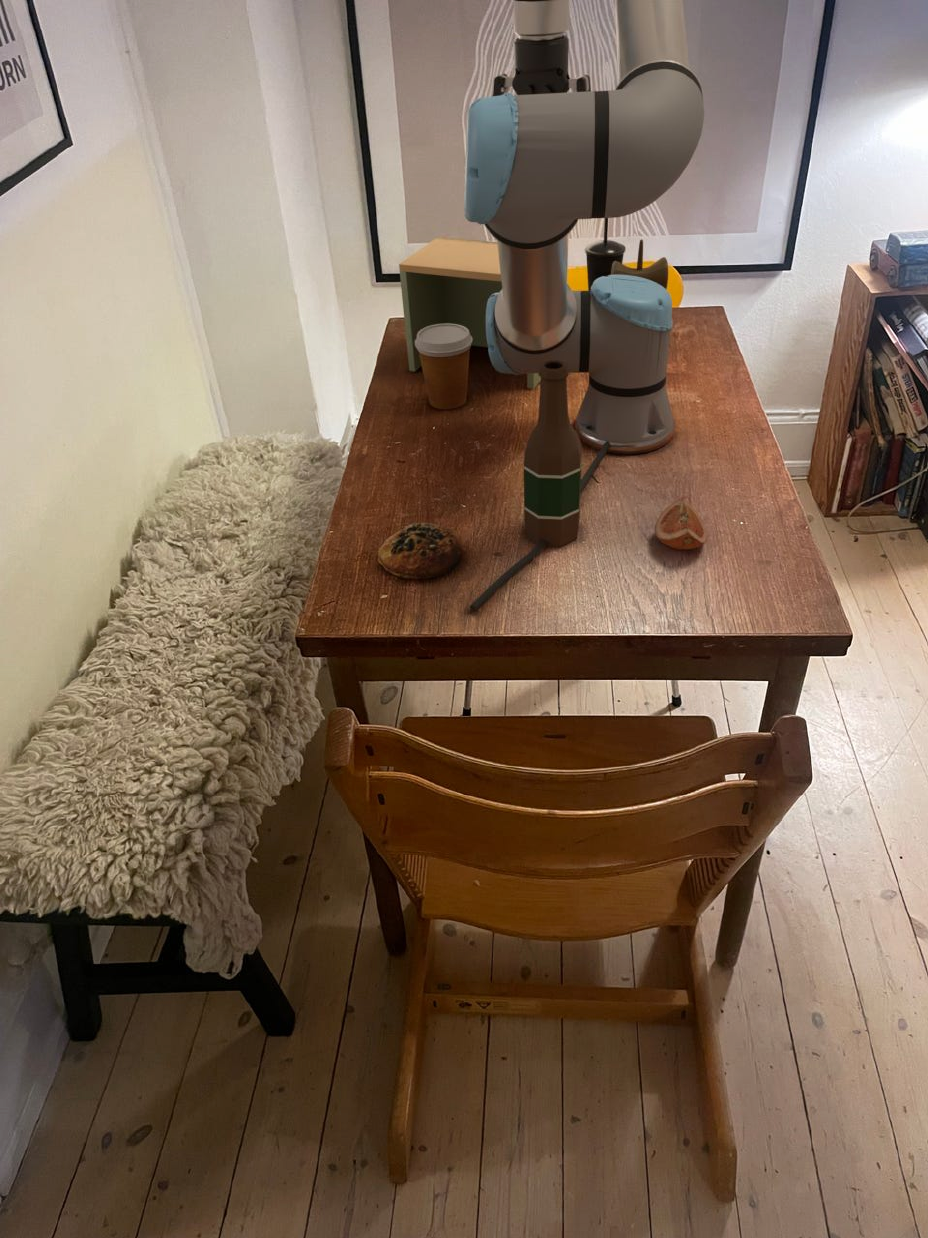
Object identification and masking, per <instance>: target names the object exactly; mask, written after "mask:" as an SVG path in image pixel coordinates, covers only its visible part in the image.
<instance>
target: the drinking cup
mask: <svg viewBox="0 0 928 1238" xmlns="http://www.w3.org/2000/svg"><path fill="white" fill-rule="evenodd" d="M603 224H604V225H603V226H604V228H603V239H601V240H596V241H594V242H592V243H590V244H588V245H586V246H585V247H584V253H585V255H586V273H587V291H590V290H591V286H592V285H593V282H594V281H595V280H596V279H597V278H600V277H602V276H606V277H607V276H608V275H611V268H612V264H613V262H614V261H617V262H620V263H621V264H623V262H624V254H625V253H626V249H627V248H626V246H625V245H624V244H623V243H620V242H617V241H615V240H612V239H611V240H610V239H608V236H609V218H604V223H603Z"/></svg>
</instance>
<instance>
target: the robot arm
mask: <svg viewBox="0 0 928 1238" xmlns="http://www.w3.org/2000/svg"><path fill="white" fill-rule="evenodd" d="M614 8H615V34H616V58H617V59H616V60H617V61H616V62H617V83H618V84H617V85H616V86H615V89H612V90H592V89H591V88H592V86H591V78H590V76H589V75H588V74H584V75H582V76H580V77H570V75H569V44H570V42H569V41H570V40H569V37H568V36H567V35H565V33H567V32H568V31H569V27H570V0H513V34H515V35H516V36H518V37H517V38H515V40H514V42H513V43H514V45H513V47H514V76H508V74H506V73H501V74H499V75H497V76H495V77H494V79H493V86H492V87H493V90H492V96H483V97H479V98H477V99H475V100H474V101H473V102H472V103H471V105H470V106H469V108H468V110H467V116H466V131H465V132H466V134H465V135H466V136H465V159H464V167H465V168H464V190H463V194H464V195H463V212H464V218H465V219H466V220H467V221H468V222H470V223H477V224H478V225H483V226H484V227H485V228H486V230H487V231H488V233H489V234H490V235H491V236H492V237H493V238H494V239H495V240H496V242H497V246H498V255H499V263H500V272H501V281H502V290H501V291H500V292H499V293H494V294H492V295H491V296H490V298H489V299H488V302H487V307H486V338H487V344H488V347H487V348H488V350H487V351H488V356H489V359H490V363H491V365H492V367H493V368H494V369H495V371H496V372H499V373H501V374H507V375H515V376H521V375H524V374H527V373H539V371H540V367H541V364H542V363H544V362H547V361H562V362H564V363H566V364H567V365H568V369H569V373H568V374H574V373H575V374H576V373H577V374H578V373H579V374H583V373H585V374H586V373H587V374H588V386H587V388H586V391H585V393H584V397H583V399H582V402H581V405H580V406H579V410H578V412H577V415H576V417H575V431H576V432H577V434H578V436H579V439H580V442H581V443H583V444H584V445H586V446H588V447H589V448H592V449H594V450H596V451H599V452H598V453H597V454H596V456H595V457H594V459H593V461H592V463H591V464H590V466H589V467H588V469H587V470H586V471H585V474H584V475H583V477H581V494H582V492H583V491H584V489H585V487H586V486H587V484H588V483H589V481H590V479H591V478H592V476H593V474H594V473H595V471H596V469H597V467H598V466H599V464H600V463H601V461H602V460H603V458H604V457H605V455H606V454H607V453H608V454H616V455H618V454H619V455H636V454H642V453H643V454H644V453H647V452H648V453H649V452H652V451H654V450H658V449H660V448H661V447H664V446H665V445H666V444H668V443H669V442H670V441H671V439H672V438H673V435H674V430H675V429H674V427H675V418H674V414H673V410H672V406H671V402H670V398H669V395H668V391H667V385H666V384H667V374H668V363H669V362H668V361H669V351H670V350H669V349H670V338H671V331H672V330H671V329H673V324H674V322H673V299H672V295H671V293H670V292H669V291H668V290H667V289H665V288H664V287H663V286H661V285H659V284H657V283H655V282H653V281H651V280H648V279H645V278H641V277H637V276H630V275H608V276H607V277H606V276H602V277H600V278H597V279H596V280H595V281H594V282H593V285H592V286H591V290H590V291H588V290H572V288H571V286H569V284H568V266H569V265H568V264H569V261H568V260H569V234H570V233H571V232H572V231H573V229H574V228H575V227H576V225H577V224H578V223H579V222H578V221H579V220H591V219H605V218H608V219H614V218H615V219H616V218H621V217H625V216H628V215H632V214H634V213H636V212H638V211H639V212H640V211H641V210H643V209H645V208H646V207H649V206H650V205H652V204H653V203H654V202H656V201H657V200H658V199H660V197H662V196H663V195H664V194H665V193H666V192H667V191H668V190H670V189H671V187H673V186H674V184H675V183H676V182H677V181H678V180H679V179H680V177H681V176H682V174H683V173H684V171H685V170H686V169H687V167H688V165H690V162H691V160H692V158H693V156H694V154H695V152H696V150H697V148H698V145H699V142H700V140H701V136H702V131H703V126H704V121H705V104H704V97H703V90H702V86H701V83H700V80H699V78H698V77H697V75H696V74H695V72H693V71H692V69H691V68H690V59H689V51H688V50H689V49H688V41H687V40H688V39H687V30H686V21H685V12H684V1H683V0H614ZM511 89H513V91H514V92H515V94H516V95H515V94H513V93H511V92H510V91H511ZM570 89H571V90H572V92H570ZM547 544H548V542H547V541H546V540H542V541H541V542H539V543H538V544H536V545H535V546H534V547H532V549H531V550H530V551H529V552H527V553H526V555H525V556H523V557H522V558H521V559H519V560H518V561H517V562H515V564H513V565H512V566H511V567H510V568H509V569H507V570H506V571H505V572H503V574H502V575H501V576H499V577H498V578H497V579H496V580H495V581H493V583H492V584H490V585H489V587H488V588H487V589H486V590H485V591H483V592H482V593H481V595H479V596H478V597H477V598H476V599H475V601H473V602H472V603H471V604H470V605H469V610H471V611H472V612H476V611H477V610H478V609H480V607H481V606H482V605H484V604H485V603H486V601H487V600H488V599H490V597H491V596H492V595H494V594H495V592H497V590H499V589H500V588H501V587H502V586H503V585H504V584H505V583H506V582H507V581H508V580H510V579H511V578H512V577H513V576H514V575H515V574H516V573H518V572H519V571H520V570H521V569H522V568H524V567H525V566H526V565H527V564H528V563H530V562H531V561H532V560H533V559H534V558H535V557H536V556H537V555H538V554H540V553H541V552H542V551H543V550H544V548H546V547H547V546H546V545H547Z"/></svg>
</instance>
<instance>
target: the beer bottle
mask: <svg viewBox="0 0 928 1238" xmlns="http://www.w3.org/2000/svg"><path fill="white" fill-rule="evenodd" d="M569 374H570V373H569V369H568V365H567V364H566V363H564V362H562V361H547V362H544V363H542V364H541V367H540V371H539V376H540V377H541V381H540V385H539V386H540V389H539V401H538V403H539V404H538V405H539V406H538V417H537V418H538V419H537V423H536V424H535V425H534V427H533V428H532V429H531V431H530V433H529V436H528V438H527V441H526V444H525V449H524V455H523V508H524V509H523V517H524V519H523V520H524V521H523V523H524V535H525V536H526V538H528V539H529V540H531V542H534V543H535V544H536V545H537V544H538V543H539V542H541V541H542V540H546V541H547V542H548V544H547V545H546V546H545V547H558V548H561V547H563V546H566V545H567V544H569V543H571V542H574V541H575V540H577V539H578V535H579V527H580V516H581V495H582V493H581V480H582V464H583V463H582V462H583V461H582V458H583V454H582V453H583V452H582V441H581V440H580V439H579V436H578V434H577V432H576V429H575V428H574V427H573V425H572V424H571V422H570V416H569V403H568V402H569V401H568V383H567V381H568V380H567V378H568V377H569Z"/></svg>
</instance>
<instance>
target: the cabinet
mask: <svg viewBox="0 0 928 1238" xmlns="http://www.w3.org/2000/svg"><path fill="white" fill-rule="evenodd" d="M398 267H399V277H400V279H399V280H400V289H401V299H402V309H403V319H404V331H405V340H406V349H407V360H408V368H409V369H408V371H409V372H416V371H418V369H420V368H422V365H421V360H420V356H419V351H418V350H417V348H416V346H415V340H416V339H417V333H418V332H419V331H420V330H421V329H423V328H425V327H427V326H431V325H435V324H444V323H449V324H458V325H462V326H464V327H466V328H467V329H468V330H469V333H470V335H471V337H472V339H473V340H472V343H471V346H474V347H481V348H488V344H487V338H486V307H487V302H488V299H489V298H490V296H491V295H492V294H494V293H499V292H500V291H501V290H502V281H501V272H500V263H499V255H498V246H497V241H489V240H476V239H466V238H464V239H463V238H453V237H445V236H444V237H443V236H437V237H436V238H435V239H433V240H432V241H430V242H429V243H427V244H426V245H424V246H423V247H422V248H420V249H418V250H417V251H416V252H414V253H413V254H412V255H410V256H408V257H407V258H406V259H404V260H403V261H401V262H400V263H399V264H398ZM526 383H527V385H526V387H527V388H526V389H530V390H534V389H535V388H536V387H537V386H538V385H539V384H540V383H541V377H540V376H539V373H526Z"/></svg>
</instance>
